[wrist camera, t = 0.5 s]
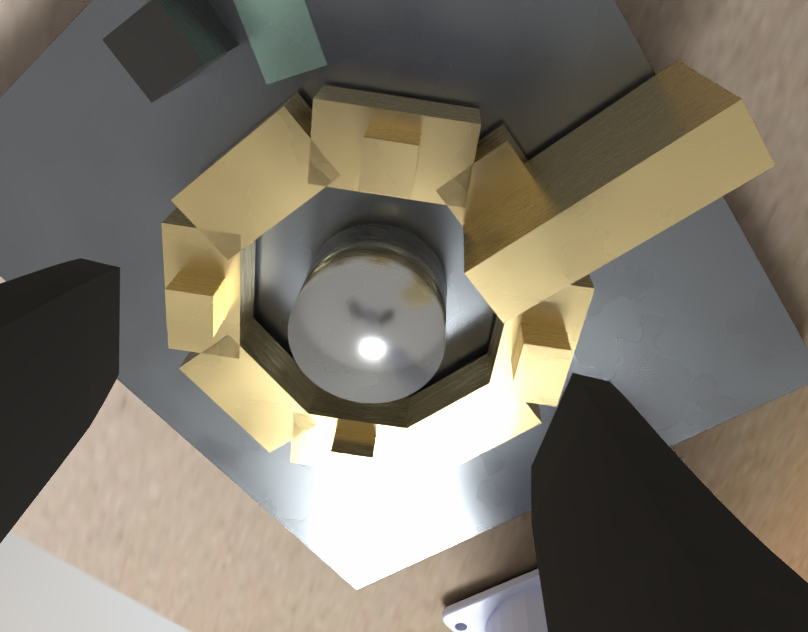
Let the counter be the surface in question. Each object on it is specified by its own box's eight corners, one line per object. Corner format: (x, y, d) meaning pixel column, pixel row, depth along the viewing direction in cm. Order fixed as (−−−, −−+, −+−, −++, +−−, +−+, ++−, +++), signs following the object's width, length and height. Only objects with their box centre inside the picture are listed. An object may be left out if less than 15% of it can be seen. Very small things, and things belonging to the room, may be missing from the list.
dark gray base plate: (804, 354, 21) (874, 439, 17) (360, 564, 27) (346, 657, 24) (424, -327, 13) (413, -415, 10) (-64, 180, 20) (-174, 234, 16)
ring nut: (350, 488, 23) (332, 588, 19) (105, 252, 19) (26, 325, 15) (784, 260, 18) (864, 341, 14) (572, -138, 14) (612, -159, 10)
